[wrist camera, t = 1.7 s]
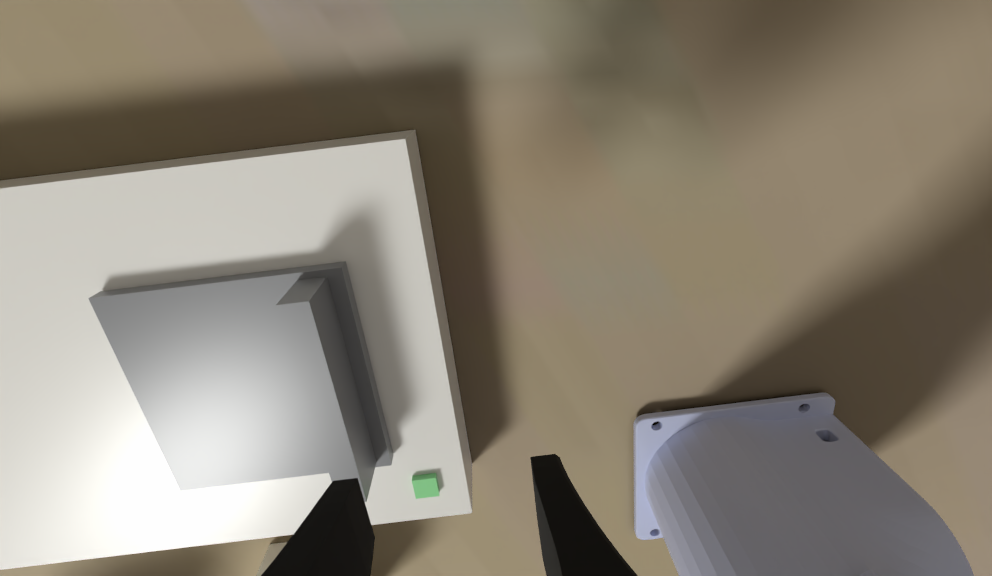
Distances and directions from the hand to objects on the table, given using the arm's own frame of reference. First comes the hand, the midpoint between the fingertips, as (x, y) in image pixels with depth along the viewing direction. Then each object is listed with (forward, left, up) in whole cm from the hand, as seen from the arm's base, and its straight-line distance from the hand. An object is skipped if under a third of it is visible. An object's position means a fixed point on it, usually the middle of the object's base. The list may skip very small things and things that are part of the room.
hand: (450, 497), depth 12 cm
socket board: (+11, 0, -10) cm, 15 cm away
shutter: (+8, 0, -7) cm, 10 cm away
